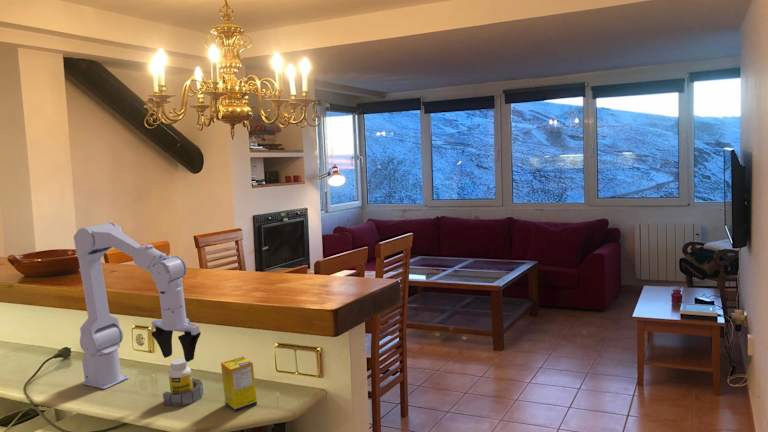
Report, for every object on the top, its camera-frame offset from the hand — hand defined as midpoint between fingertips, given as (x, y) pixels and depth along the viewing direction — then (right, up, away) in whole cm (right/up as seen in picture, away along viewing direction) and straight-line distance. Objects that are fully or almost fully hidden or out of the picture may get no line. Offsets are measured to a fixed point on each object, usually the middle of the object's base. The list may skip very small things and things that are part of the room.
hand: (178, 358), depth 158 cm
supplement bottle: (+1, -11, +1) cm, 11 cm away
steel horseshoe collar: (+2, -10, +1) cm, 11 cm away
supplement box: (+17, -11, -4) cm, 20 cm away
